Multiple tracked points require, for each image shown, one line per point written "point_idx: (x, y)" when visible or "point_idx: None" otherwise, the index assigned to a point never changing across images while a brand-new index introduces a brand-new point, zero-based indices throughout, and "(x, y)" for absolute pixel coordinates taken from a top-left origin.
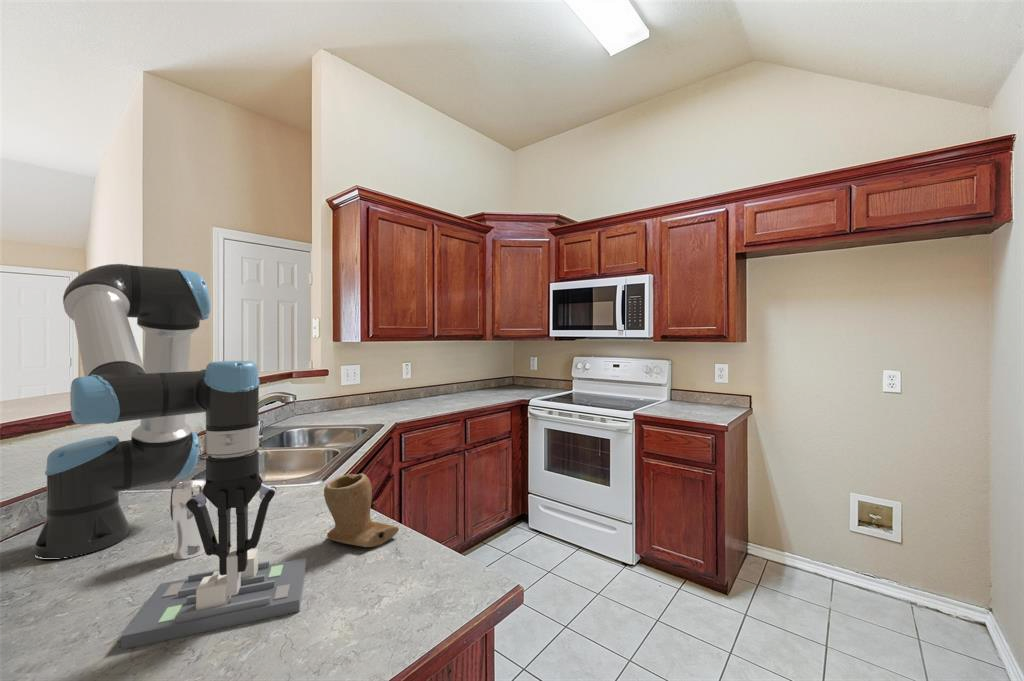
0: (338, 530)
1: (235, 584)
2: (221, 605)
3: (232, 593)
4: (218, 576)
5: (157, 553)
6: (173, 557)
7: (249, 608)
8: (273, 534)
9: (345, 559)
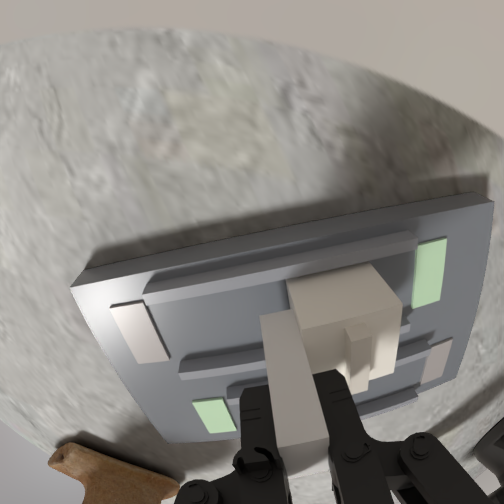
0: (143, 489)
1: (268, 340)
2: (299, 280)
3: (275, 317)
4: (346, 373)
5: (450, 436)
6: (433, 435)
7: (203, 269)
8: (293, 488)
9: (102, 428)
